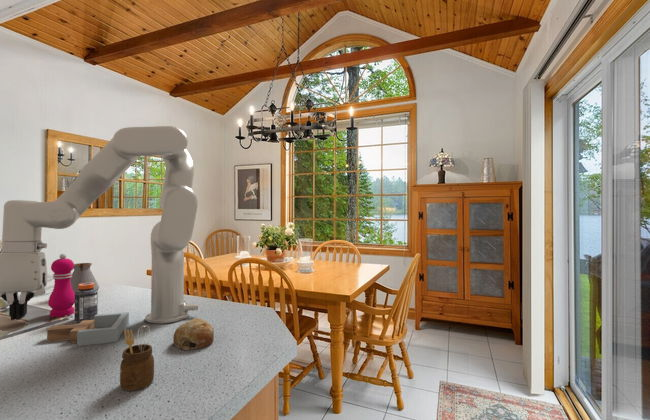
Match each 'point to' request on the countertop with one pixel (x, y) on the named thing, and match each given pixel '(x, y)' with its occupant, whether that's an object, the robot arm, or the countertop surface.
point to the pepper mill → (62, 288)
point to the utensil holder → (136, 364)
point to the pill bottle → (85, 302)
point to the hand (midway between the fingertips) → (17, 318)
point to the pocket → (104, 329)
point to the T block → (69, 331)
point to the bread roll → (193, 335)
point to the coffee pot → (82, 276)
